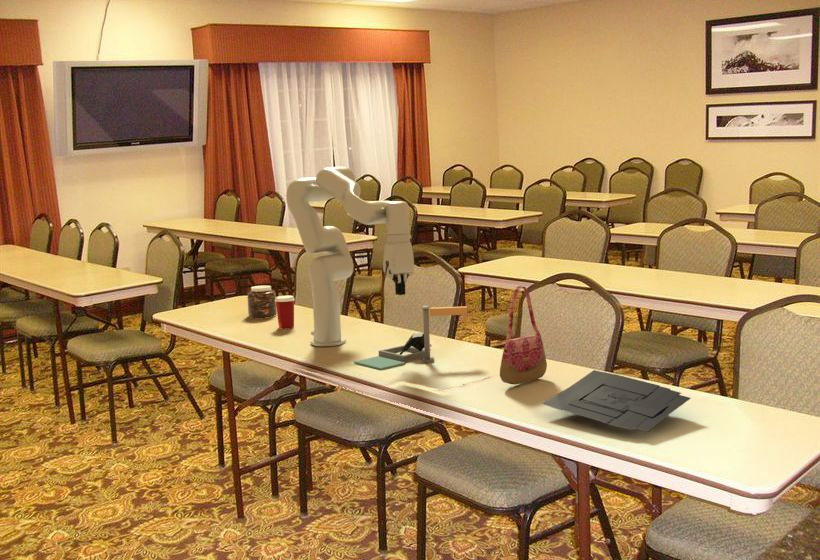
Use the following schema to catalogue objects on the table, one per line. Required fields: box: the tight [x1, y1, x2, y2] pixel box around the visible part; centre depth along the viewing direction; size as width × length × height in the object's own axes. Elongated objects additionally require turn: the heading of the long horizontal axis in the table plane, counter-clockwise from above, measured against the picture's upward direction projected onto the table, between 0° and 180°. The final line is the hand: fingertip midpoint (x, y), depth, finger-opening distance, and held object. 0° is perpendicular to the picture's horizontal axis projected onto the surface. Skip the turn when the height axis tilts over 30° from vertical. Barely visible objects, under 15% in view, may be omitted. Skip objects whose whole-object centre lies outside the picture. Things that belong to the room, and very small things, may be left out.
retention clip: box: [421, 305, 469, 322], centre depth 279 cm, size 15×3×5 cm, turn 90°
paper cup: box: [275, 295, 295, 330], centre depth 340 cm, size 8×8×14 cm
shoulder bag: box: [499, 285, 548, 385], centre depth 250 cm, size 17×3×28 cm, turn 128°
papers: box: [541, 369, 692, 432], centre depth 221 cm, size 24×30×4 cm
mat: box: [353, 355, 406, 371], centre depth 281 cm, size 14×10×1 cm
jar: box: [247, 285, 277, 319], centre depth 363 cm, size 12×12×15 cm
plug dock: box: [378, 308, 435, 364], centre depth 286 cm, size 20×11×18 cm, turn 41°
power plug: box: [399, 332, 433, 355], centre depth 288 cm, size 6×8×12 cm
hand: (400, 294), depth 287 cm, fingers closed
